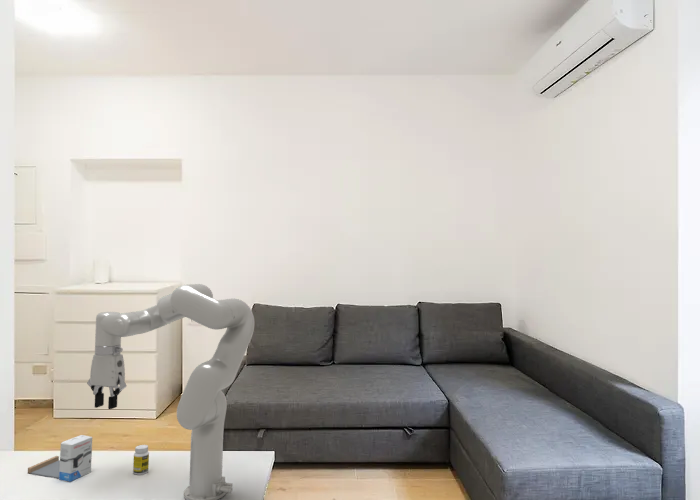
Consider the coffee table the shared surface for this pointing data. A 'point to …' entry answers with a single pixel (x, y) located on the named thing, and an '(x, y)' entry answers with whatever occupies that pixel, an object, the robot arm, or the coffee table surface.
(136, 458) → the supplement bottle
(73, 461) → the ink box
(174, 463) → the coffee table surface
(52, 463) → the mat
